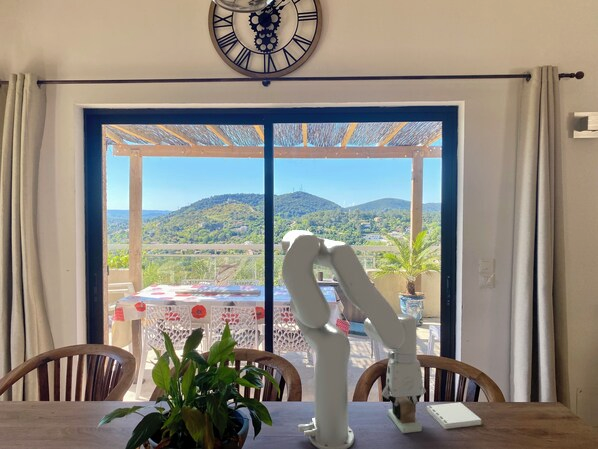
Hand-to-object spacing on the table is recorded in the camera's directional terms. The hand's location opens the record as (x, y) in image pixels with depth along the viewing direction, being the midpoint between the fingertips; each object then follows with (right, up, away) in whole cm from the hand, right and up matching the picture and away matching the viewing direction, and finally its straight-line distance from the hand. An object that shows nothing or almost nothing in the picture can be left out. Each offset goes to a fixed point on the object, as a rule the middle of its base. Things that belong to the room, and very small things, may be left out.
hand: (404, 415), depth 104 cm
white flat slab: (+16, -2, +3) cm, 17 cm away
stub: (0, -2, 0) cm, 2 cm away
